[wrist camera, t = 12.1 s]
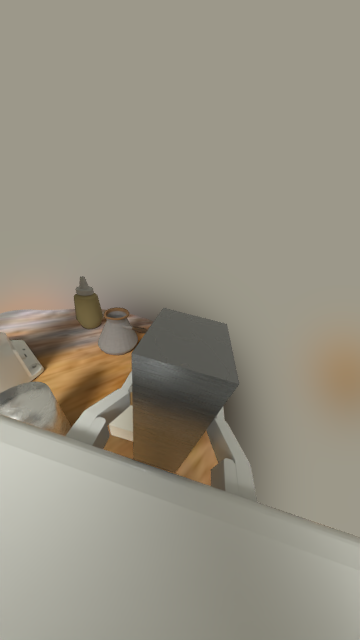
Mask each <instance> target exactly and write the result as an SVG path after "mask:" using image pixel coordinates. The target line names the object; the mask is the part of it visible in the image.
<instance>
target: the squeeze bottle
mask: <svg viewBox="0 0 360 640" xmlns="http://www.w3.org/2000/svg"><path fill="white" fill-rule="evenodd" d="M76 293H77V294H75V295H74V303H75V311H76V319H77V320H78V321H79V323H80V324H81V325H82V326H83V328H86V329H93V328H96V327H98V326H100V324H101V321H102V317H103V314H102V311H101V307H100V303H99V300H98V296H97V295H96V294H95V293H94V291H93V288H92V287H89V286H88V284H87V282H86V279H85V277H80V286H79V287H77V288H76Z"/></svg>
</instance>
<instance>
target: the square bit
mask: <svg viewBox="0 0 360 640" xmlns="http://www.w3.org/2000/svg"><path fill="white" fill-rule="evenodd" d="M238 385H239V380H238V376H237V371H236V366H235V361H234V356H233V352H232V347H231V342H230V337H229V332H228V328H227V324H224V323H221V322H217V321H213V320H209V319H205V318H201V317H197V316H193V315H189V314H185V313H181V312H177V311H174V310H170V309H166V308H163V309H162V311H161V312H160V314H159V315H158V316H157V318H156V319H155V321H154V322H153V324H152V325H151V326H150V328H149V329H148V331H147V332H146V334H145V335H144V336H143V338H142V339H141V341H140V342H139V344H138V345H137V346H136V348H135V349H134V351H133V352H132V402H133V459H136V460H139V461H142V462H145V463H148V464H150V465H153V466H156V467H159V468H162V469H165V470H168V471H171V472H174V473H175V472H176V471H177V469H178V468H179V467H180V465H181V464H182V463H183V461H184V460H185V458H186V457H187V456H188V454H189V453H190V451H191V450H192V449H193V447H194V446H195V445H196V443H197V442H198V440H199V439H200V438H201V436H202V435H203V434H204V432H205V431H206V429H207V428H208V427H209V425H210V424H211V422H212V421H213V420H214V418H215V417H216V416H217V414H218V413H219V411H220V410H221V409H222V407H223V406H224V404H225V403H226V402H227V400H228V399H229V397H230V396H231V395H232V393H233V392H234V391H235V389H236V388H237V387H238Z"/></svg>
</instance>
